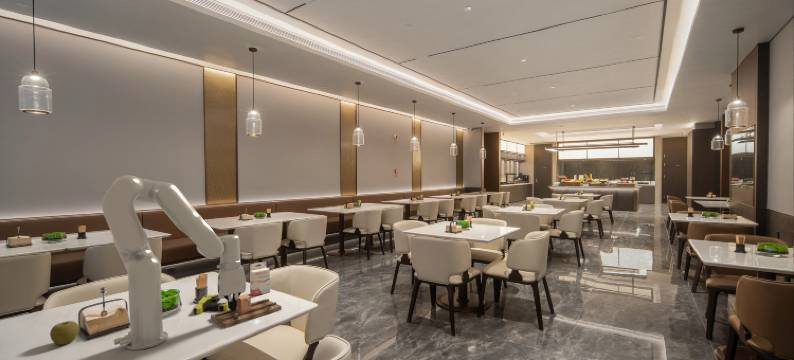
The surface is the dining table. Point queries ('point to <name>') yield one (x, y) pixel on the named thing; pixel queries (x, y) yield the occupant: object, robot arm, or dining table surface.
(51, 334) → the apple
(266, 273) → the ink cartridge box
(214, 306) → the stun gun
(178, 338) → the dining table surface
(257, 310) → the wooden slatted tray
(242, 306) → the orange tan block
